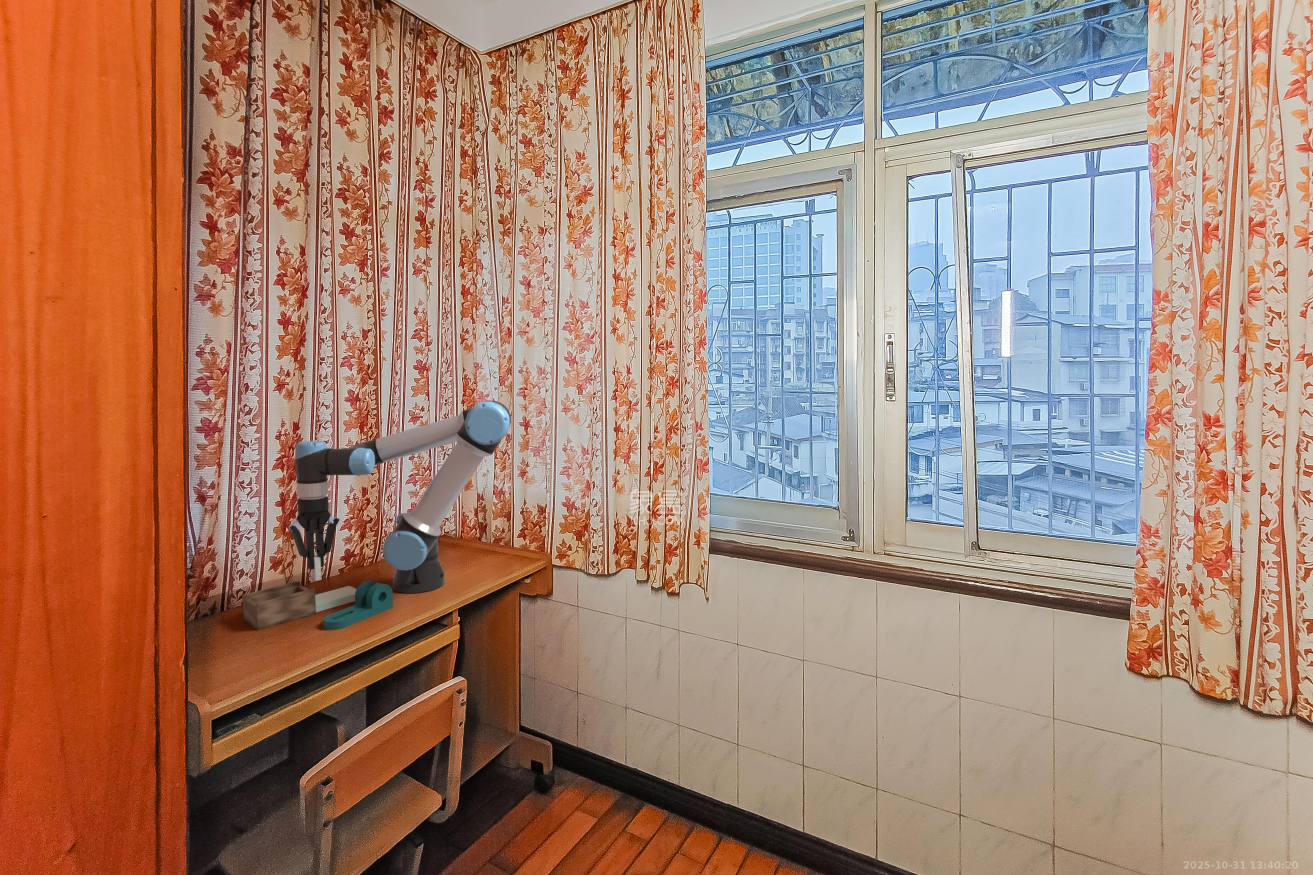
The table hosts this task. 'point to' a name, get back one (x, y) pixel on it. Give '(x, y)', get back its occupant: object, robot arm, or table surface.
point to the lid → (335, 598)
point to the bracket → (362, 605)
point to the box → (278, 605)
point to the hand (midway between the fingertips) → (316, 579)
